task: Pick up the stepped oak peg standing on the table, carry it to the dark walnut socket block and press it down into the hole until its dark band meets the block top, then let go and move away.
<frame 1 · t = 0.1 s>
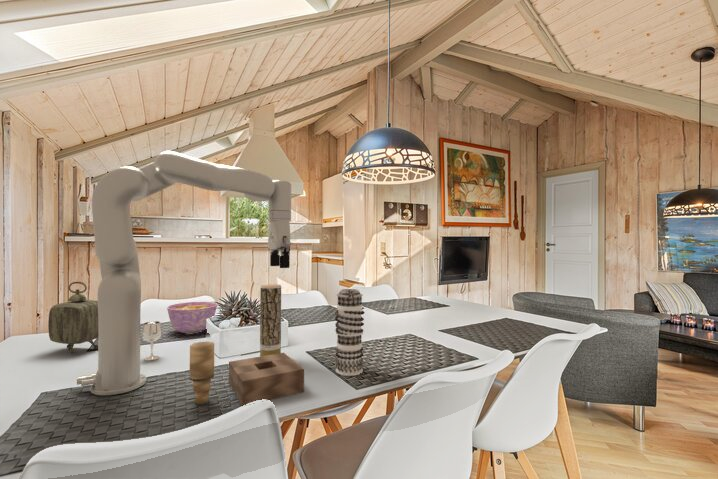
hand: (279, 266, 120), 31 cm above the table, tool pointing down, fingers open, 9 cm apart
patterned tall cylinder: (349, 371, 109), on the table
bark pattern cylinder: (270, 360, 118), on the table
bowl of food: (192, 332, 153), on the table
oak peg: (201, 400, 87), on the table
wineglass: (151, 358, 119), on the table
socket block: (265, 387, 96), on the table
tabletop clock: (76, 352, 126), on the table
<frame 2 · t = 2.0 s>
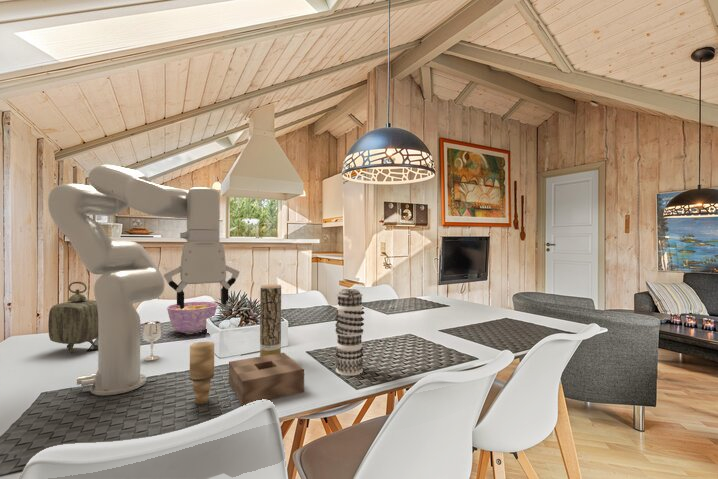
hand: (203, 306, 88), 24 cm above the table, tool pointing down, fingers open, 9 cm apart
nothing on the table moved.
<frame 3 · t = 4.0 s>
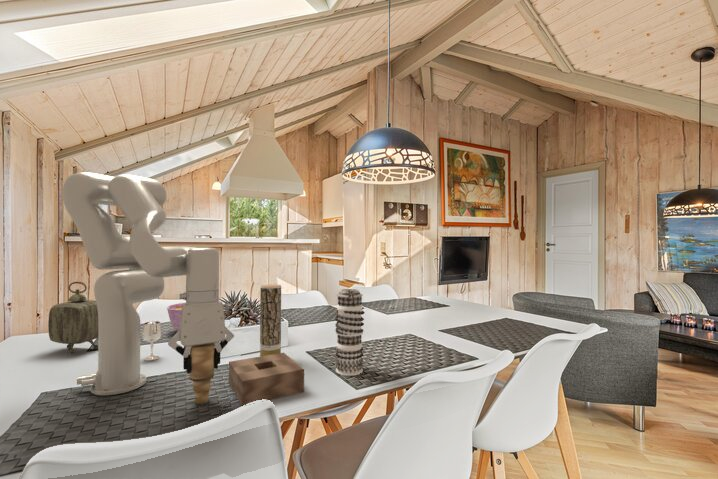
hand: (202, 368, 88), 8 cm above the table, tool pointing down, fingers closed on oak peg, 5 cm apart
oak peg: (201, 400, 87), on the table, touching gripper
everything else where it was.
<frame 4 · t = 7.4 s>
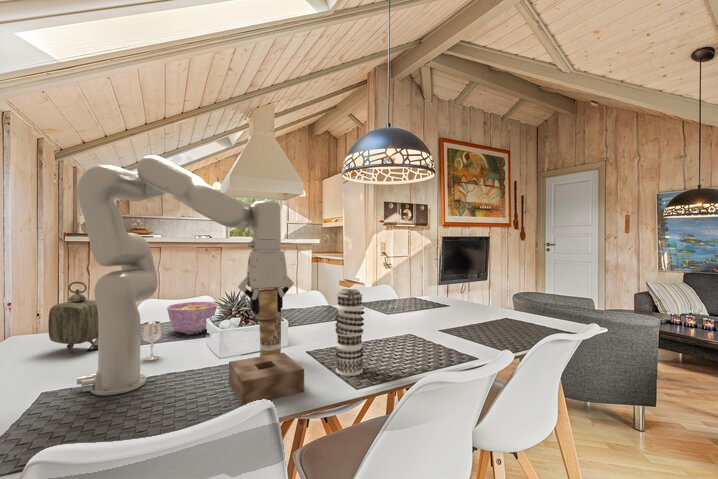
hand: (267, 311, 96), 21 cm above the table, tool pointing down, fingers closed on oak peg, 5 cm apart
oak peg: (267, 341, 96), point 13 cm above the table, touching gripper
everything else where it was.
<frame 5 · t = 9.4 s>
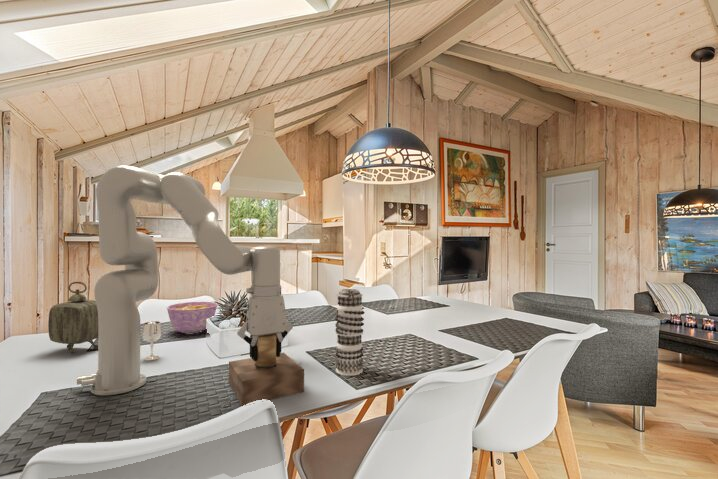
hand: (265, 356, 96), 8 cm above the table, tool pointing down, fingers closed on oak peg, 5 cm apart
oak peg: (265, 386, 96), resting in socket block, touching gripper
everything else where it was.
when the fingers open (8 cm above the table, at t = 10.8 s): oak peg stays where it is, resting on socket block.
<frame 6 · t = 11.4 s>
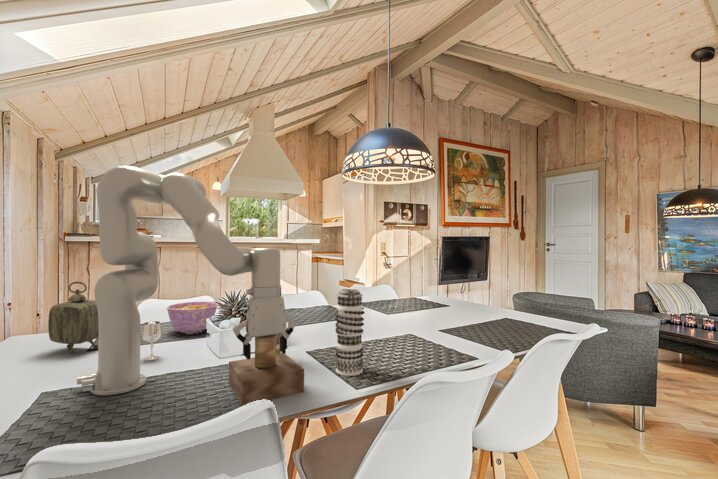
hand: (265, 355, 96), 9 cm above the table, tool pointing down, fingers open, 9 cm apart
oak peg: (265, 387, 96), resting on socket block
everything else where it was.
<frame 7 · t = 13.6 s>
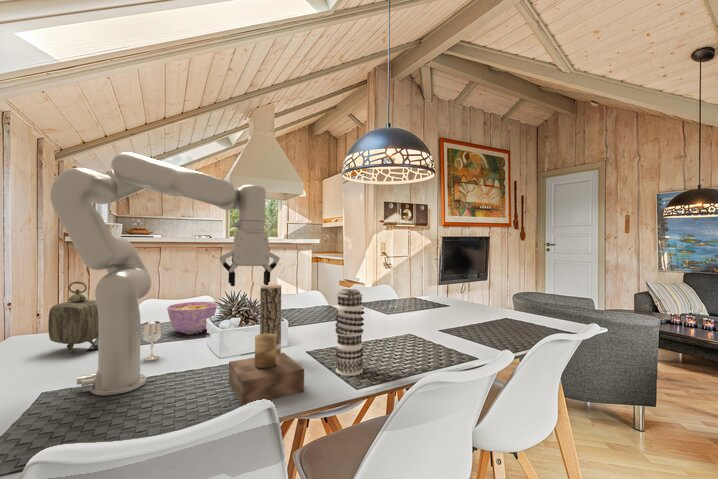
hand: (249, 285, 104), 27 cm above the table, tool pointing down, fingers open, 9 cm apart
nothing on the table moved.
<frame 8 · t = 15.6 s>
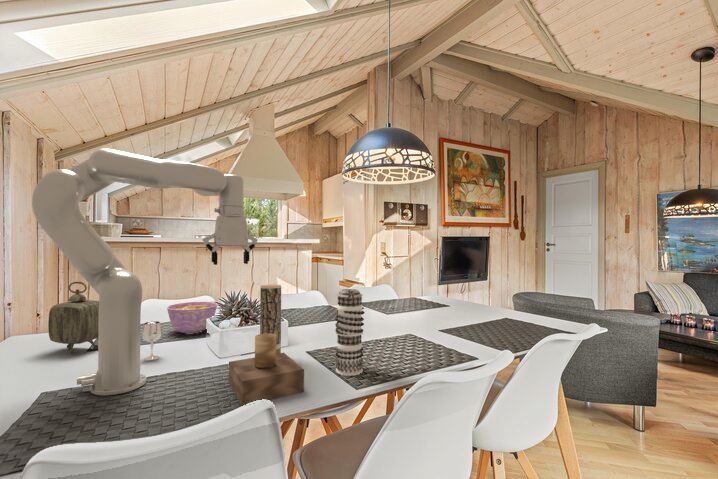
hand: (230, 264, 116), 32 cm above the table, tool pointing down, fingers open, 9 cm apart
nothing on the table moved.
at the end: oak peg 0.0 cm off-centre on the socket block, point 0.0 cm above the socket block's base; oak peg tilted 0°; the gripper is holding nothing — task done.
